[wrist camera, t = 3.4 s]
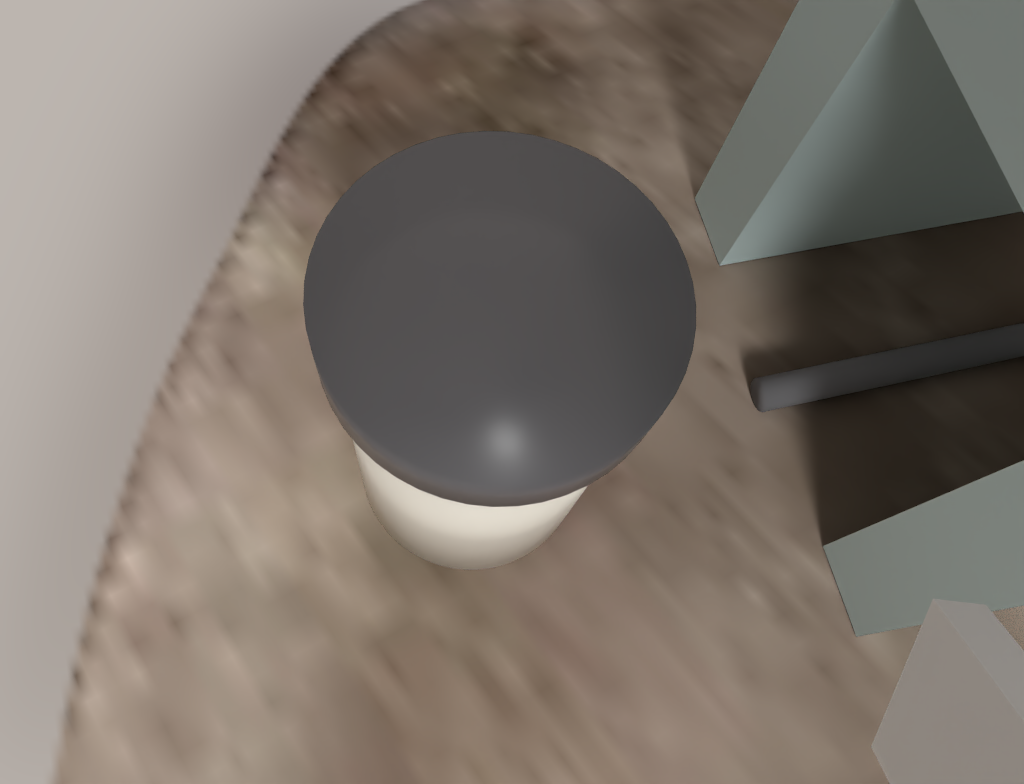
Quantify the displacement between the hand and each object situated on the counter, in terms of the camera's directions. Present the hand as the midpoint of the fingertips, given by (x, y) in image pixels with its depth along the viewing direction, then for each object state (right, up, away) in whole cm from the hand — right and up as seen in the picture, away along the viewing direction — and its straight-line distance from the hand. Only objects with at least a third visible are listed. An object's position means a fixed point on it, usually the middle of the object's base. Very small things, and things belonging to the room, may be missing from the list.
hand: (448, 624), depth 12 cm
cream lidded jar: (0, +1, +12) cm, 12 cm away
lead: (+16, +5, +15) cm, 22 cm away
